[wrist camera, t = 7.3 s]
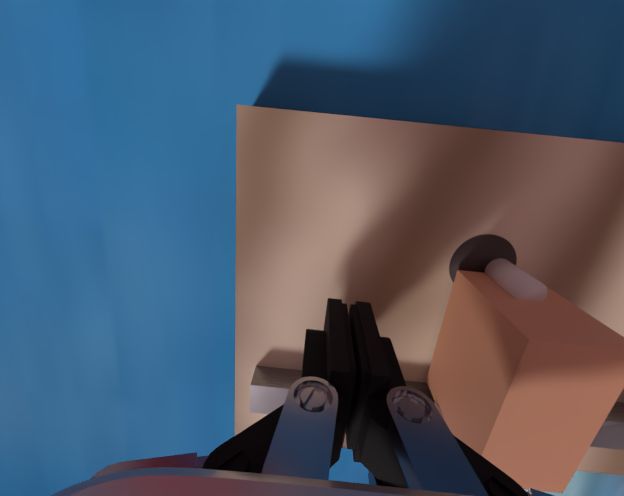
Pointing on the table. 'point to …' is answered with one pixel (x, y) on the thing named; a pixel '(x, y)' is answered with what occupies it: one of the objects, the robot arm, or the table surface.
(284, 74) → the table surface
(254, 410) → the divider beam
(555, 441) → the block
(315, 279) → the hole board
